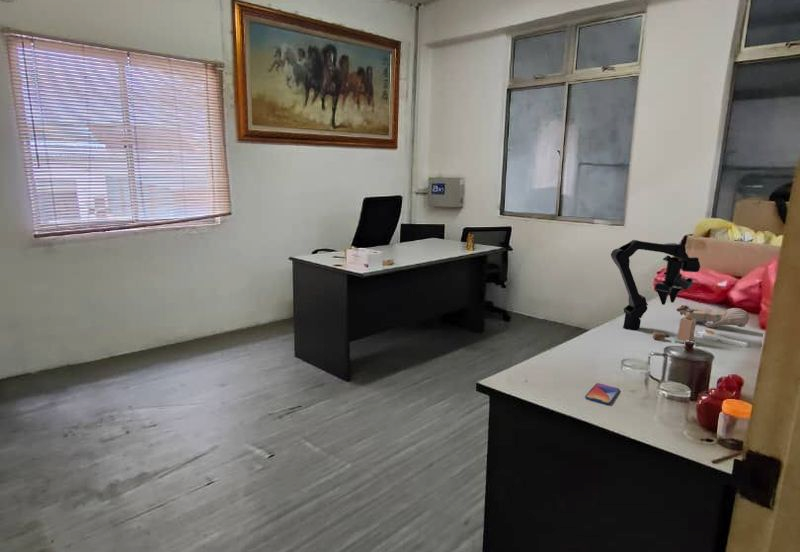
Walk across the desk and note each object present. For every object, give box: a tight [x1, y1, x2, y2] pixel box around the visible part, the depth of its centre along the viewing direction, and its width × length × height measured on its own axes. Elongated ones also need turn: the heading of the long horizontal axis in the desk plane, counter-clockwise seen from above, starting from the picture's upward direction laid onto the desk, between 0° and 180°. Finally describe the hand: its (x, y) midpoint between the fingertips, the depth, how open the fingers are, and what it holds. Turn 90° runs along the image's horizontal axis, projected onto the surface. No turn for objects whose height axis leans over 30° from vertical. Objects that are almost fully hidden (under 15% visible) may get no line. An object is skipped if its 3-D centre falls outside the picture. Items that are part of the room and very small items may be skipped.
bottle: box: [677, 309, 697, 341], centre depth 213 cm, size 5×5×14 cm
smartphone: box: [584, 383, 621, 406], centre depth 154 cm, size 7×15×1 cm, turn 144°
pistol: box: [695, 329, 749, 347], centre depth 221 cm, size 2×20×11 cm
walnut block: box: [652, 331, 666, 342], centre depth 216 cm, size 4×4×3 cm
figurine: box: [676, 304, 750, 329], centre depth 242 cm, size 12×12×30 cm
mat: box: [673, 335, 697, 346], centre depth 214 cm, size 8×8×1 cm
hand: (667, 303), depth 229 cm, fingers open, 9 cm apart
